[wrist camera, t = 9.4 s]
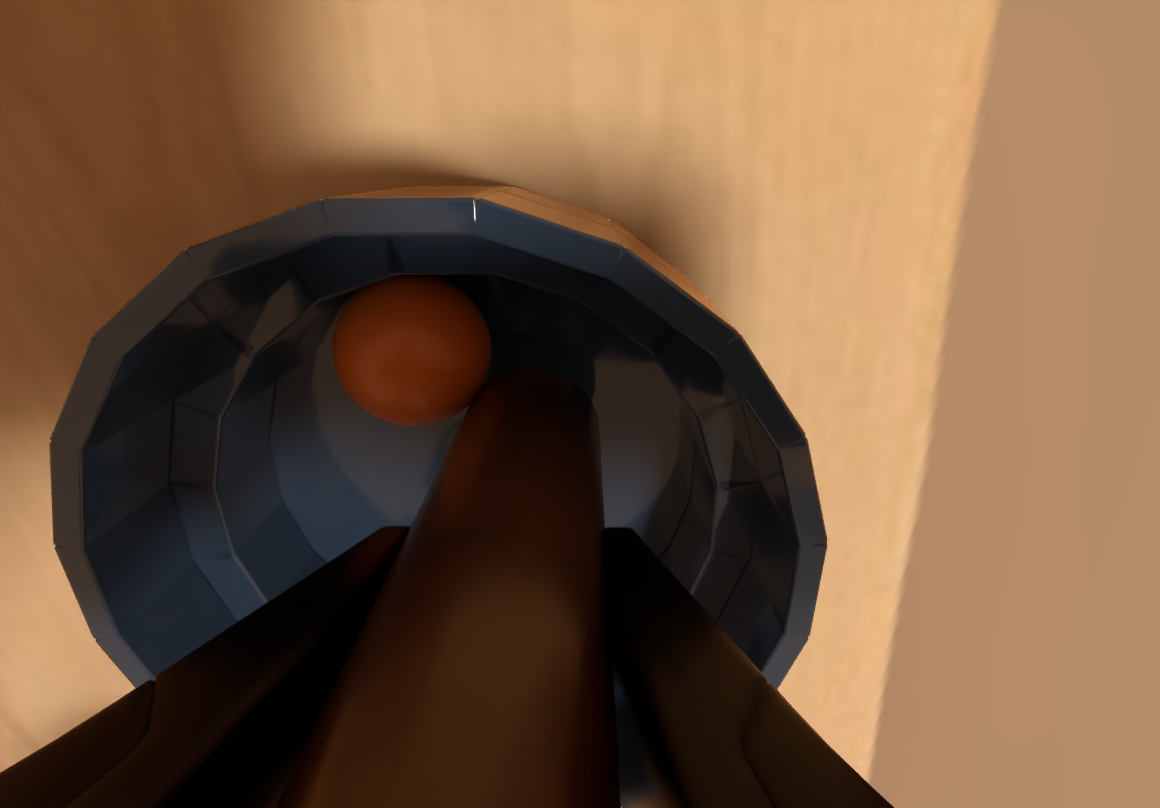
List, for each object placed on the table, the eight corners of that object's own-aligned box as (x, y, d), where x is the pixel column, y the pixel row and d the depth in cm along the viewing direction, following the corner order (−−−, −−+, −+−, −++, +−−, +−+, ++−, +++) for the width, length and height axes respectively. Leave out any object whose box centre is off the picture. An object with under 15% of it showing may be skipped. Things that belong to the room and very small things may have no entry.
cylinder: (598, 488, 13) (659, 1855, 2) (470, 487, 13) (-12, 1841, 2) (600, 367, 11) (726, 1898, 1) (461, 366, 12) (-475, 1878, 1)
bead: (505, 446, 11) (390, 406, 9) (400, 436, 13) (278, 399, 11) (533, 307, 12) (433, 234, 10) (430, 313, 14) (322, 251, 11)
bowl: (721, 651, 17) (773, 831, 12) (284, 652, 17) (175, 832, 13) (776, 183, 12) (897, 194, 7) (159, 186, 12) (-99, 199, 8)
